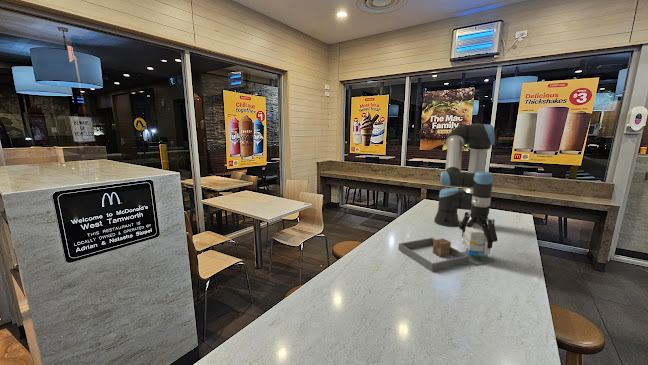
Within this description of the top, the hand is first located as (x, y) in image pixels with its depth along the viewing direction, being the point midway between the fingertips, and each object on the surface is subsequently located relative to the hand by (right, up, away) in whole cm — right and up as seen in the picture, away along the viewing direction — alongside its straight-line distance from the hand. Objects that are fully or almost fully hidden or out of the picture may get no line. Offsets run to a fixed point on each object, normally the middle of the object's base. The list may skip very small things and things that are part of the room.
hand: (475, 249), depth 130 cm
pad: (0, -4, +1) cm, 5 cm away
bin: (-20, -4, +3) cm, 21 cm away
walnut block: (-14, -4, +5) cm, 16 cm away
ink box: (0, -2, 0) cm, 2 cm away
